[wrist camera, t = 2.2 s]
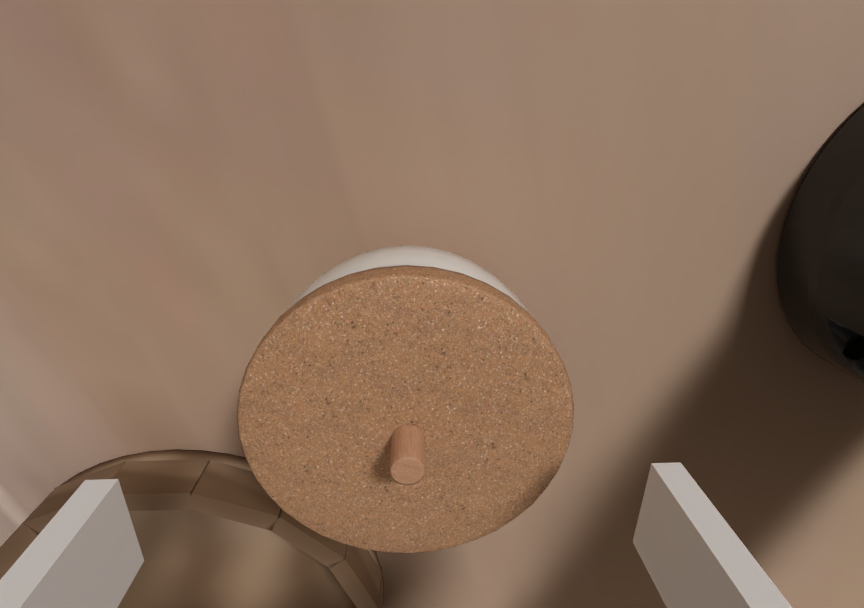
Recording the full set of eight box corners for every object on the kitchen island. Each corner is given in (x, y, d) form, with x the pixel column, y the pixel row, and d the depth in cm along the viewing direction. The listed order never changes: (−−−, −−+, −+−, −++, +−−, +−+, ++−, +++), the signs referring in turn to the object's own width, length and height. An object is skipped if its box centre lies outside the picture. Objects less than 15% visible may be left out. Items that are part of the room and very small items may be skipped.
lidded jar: (476, 443, 25) (511, 623, 16) (272, 394, 23) (190, 564, 15) (559, 257, 21) (662, 362, 12) (322, 181, 19) (251, 242, 11)
